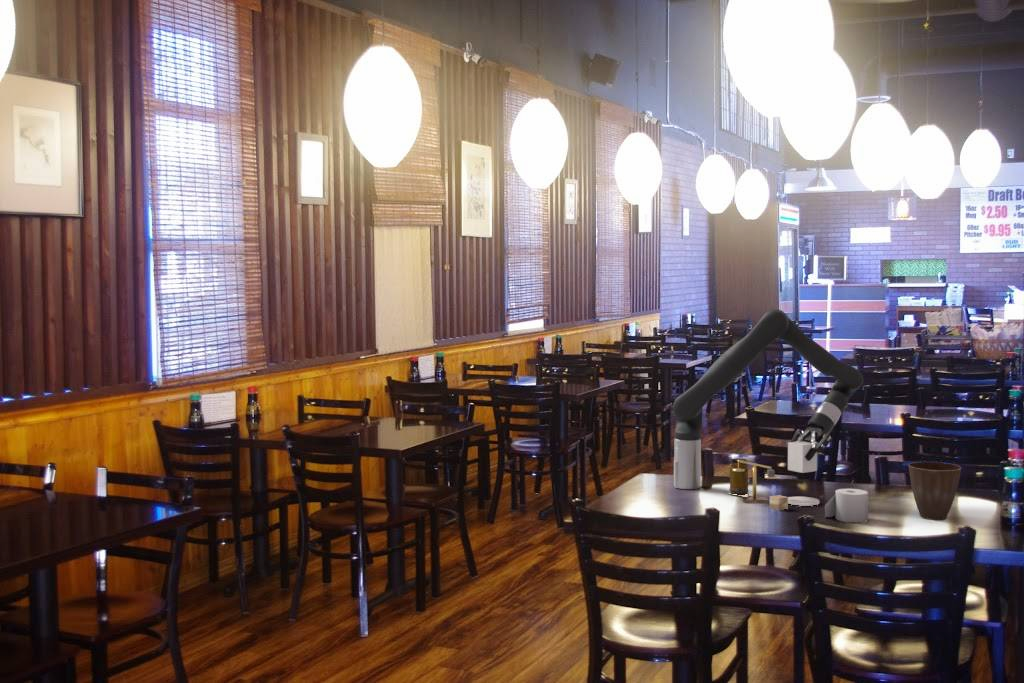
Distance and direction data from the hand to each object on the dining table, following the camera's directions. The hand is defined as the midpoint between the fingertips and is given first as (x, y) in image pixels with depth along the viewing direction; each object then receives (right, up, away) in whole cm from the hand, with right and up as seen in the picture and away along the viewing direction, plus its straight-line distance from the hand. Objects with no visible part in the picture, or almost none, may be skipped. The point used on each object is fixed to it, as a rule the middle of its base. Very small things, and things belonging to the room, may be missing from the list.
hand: (798, 457), depth 338 cm
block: (-8, -16, -6) cm, 19 cm away
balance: (-13, -15, +5) cm, 21 cm away
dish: (+1, -15, +2) cm, 15 cm away
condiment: (-15, -15, +16) cm, 27 cm away
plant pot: (+36, -16, -20) cm, 44 cm away
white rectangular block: (+1, -4, +1) cm, 5 cm away
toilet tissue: (+9, -17, -22) cm, 29 cm away
